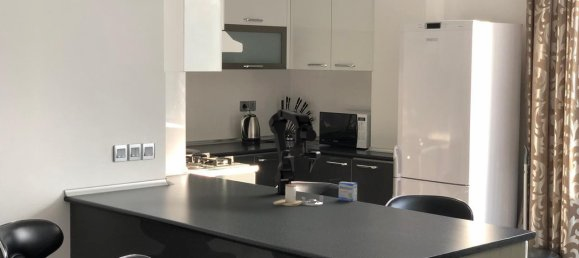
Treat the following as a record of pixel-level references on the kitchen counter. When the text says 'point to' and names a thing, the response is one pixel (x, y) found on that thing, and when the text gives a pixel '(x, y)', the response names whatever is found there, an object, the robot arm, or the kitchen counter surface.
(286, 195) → the whitish cup
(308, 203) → the clear glass bowl
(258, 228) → the kitchen counter surface
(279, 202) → the board
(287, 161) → the robot arm
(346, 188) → the medicine box
